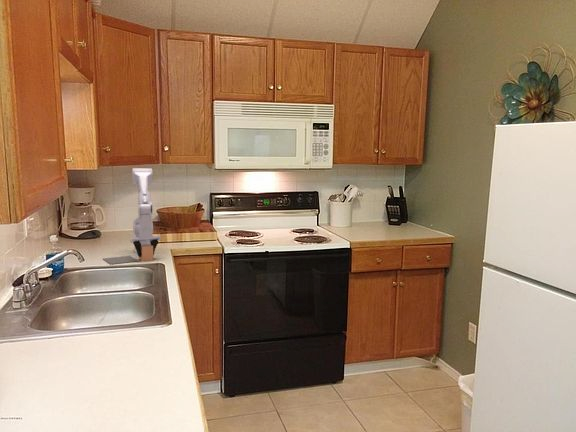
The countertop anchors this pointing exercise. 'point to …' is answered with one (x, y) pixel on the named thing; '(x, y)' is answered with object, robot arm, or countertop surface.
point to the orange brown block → (146, 252)
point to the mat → (120, 260)
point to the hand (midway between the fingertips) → (145, 255)
